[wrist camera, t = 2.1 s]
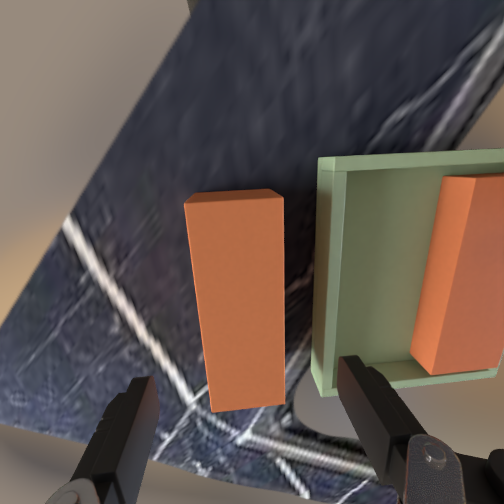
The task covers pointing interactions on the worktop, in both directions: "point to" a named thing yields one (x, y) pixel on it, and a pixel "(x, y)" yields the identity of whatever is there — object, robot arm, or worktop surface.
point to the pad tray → (379, 259)
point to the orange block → (240, 294)
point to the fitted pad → (463, 278)
